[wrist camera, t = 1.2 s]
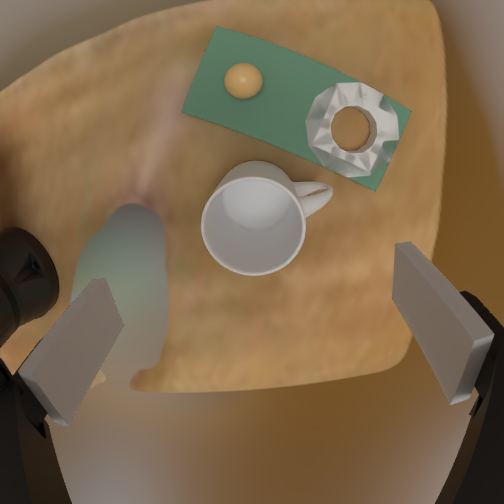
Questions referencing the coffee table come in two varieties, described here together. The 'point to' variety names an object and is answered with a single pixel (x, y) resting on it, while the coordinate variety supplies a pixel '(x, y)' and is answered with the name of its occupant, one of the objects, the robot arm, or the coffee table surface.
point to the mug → (259, 218)
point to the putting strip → (296, 105)
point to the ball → (243, 80)
